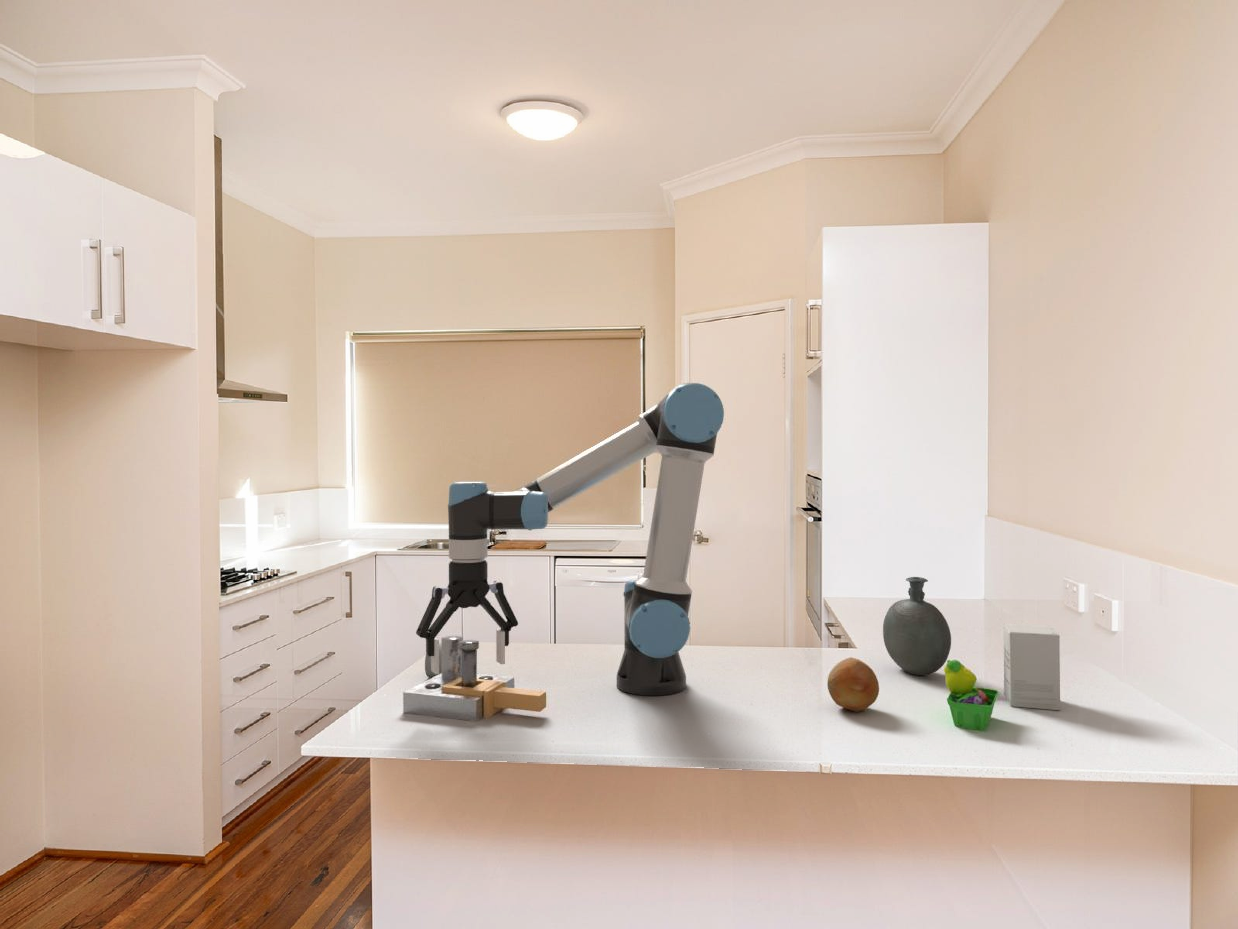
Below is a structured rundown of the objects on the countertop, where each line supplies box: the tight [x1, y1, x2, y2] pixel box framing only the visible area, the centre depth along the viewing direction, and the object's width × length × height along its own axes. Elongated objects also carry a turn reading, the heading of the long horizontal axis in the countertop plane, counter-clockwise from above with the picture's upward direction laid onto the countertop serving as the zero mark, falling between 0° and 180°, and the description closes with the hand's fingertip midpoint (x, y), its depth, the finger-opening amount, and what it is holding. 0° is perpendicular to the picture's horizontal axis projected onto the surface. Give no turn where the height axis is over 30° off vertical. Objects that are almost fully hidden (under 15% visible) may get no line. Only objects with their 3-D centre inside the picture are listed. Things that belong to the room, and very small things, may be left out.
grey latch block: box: [402, 635, 515, 722], centre depth 156 cm, size 16×16×12 cm
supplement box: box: [1003, 623, 1061, 711], centre depth 156 cm, size 9×9×15 cm
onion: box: [827, 657, 880, 713], centre depth 152 cm, size 10×10×10 cm
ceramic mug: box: [424, 642, 442, 679], centre depth 177 cm, size 11×8×8 cm
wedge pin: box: [459, 639, 480, 688], centre depth 153 cm, size 4×4×13 cm
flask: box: [882, 576, 952, 676], centre depth 177 cm, size 12×17×22 cm
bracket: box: [442, 677, 547, 718], centre depth 151 cm, size 20×7×5 cm, turn 71°
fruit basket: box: [943, 659, 999, 732], centre depth 145 cm, size 11×9×11 cm
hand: (468, 667), depth 153 cm, fingers open, 13 cm apart
